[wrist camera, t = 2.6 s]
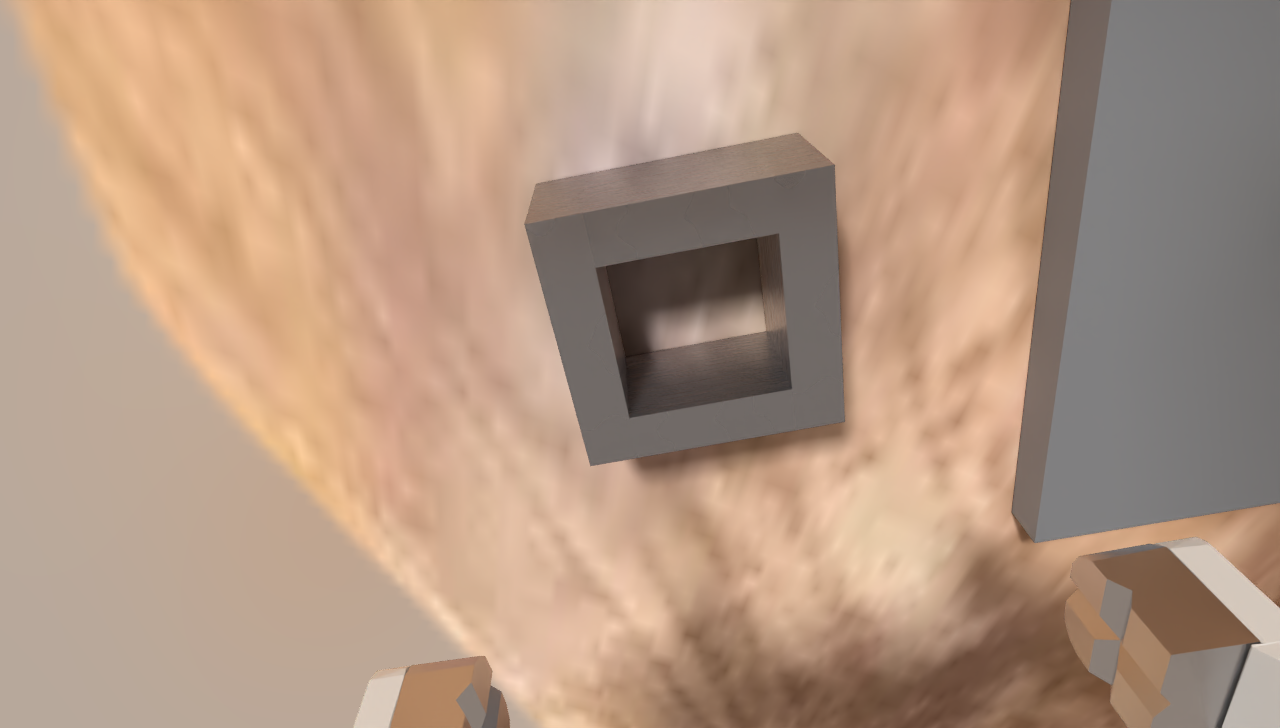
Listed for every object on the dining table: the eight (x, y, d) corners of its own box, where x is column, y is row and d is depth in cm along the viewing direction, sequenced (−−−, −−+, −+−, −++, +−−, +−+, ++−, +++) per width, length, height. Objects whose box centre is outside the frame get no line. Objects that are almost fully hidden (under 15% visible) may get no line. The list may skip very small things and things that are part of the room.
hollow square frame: (536, 184, 18) (524, 224, 15) (797, 132, 18) (834, 164, 15) (591, 400, 21) (590, 466, 19) (812, 361, 21) (844, 421, 18)
